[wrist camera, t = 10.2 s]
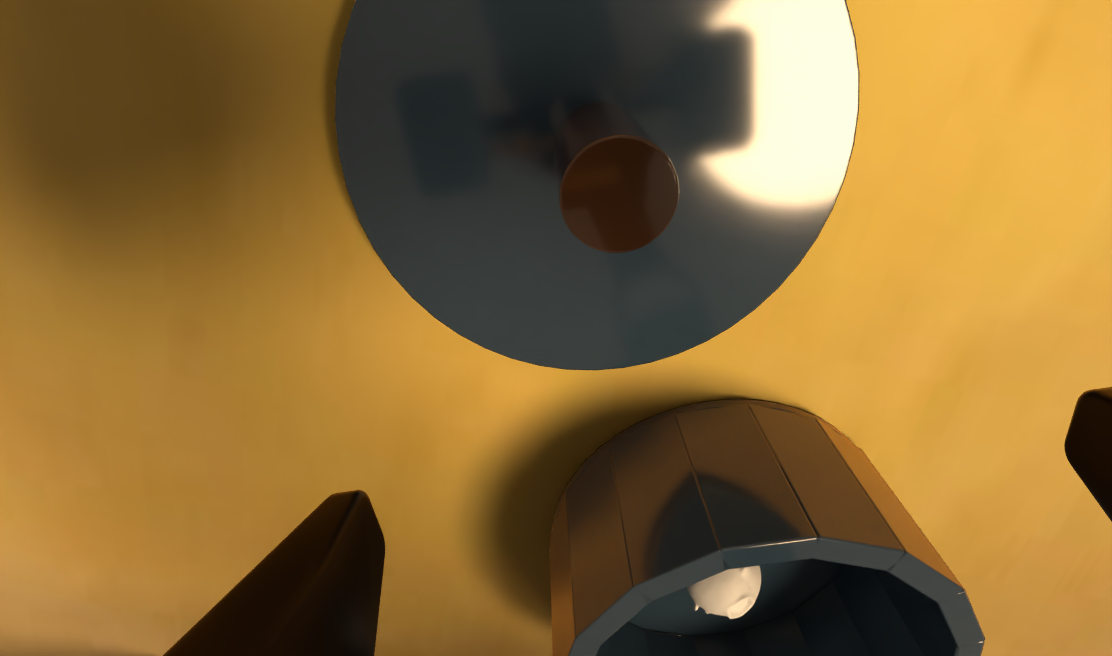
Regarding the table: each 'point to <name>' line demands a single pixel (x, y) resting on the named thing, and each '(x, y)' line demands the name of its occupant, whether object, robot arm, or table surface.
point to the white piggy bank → (727, 592)
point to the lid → (594, 162)
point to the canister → (746, 544)
